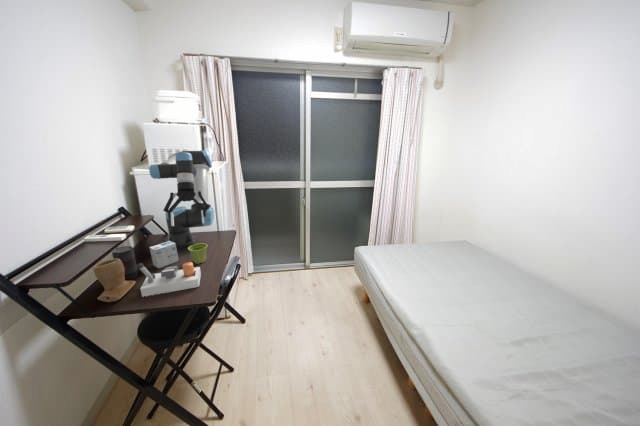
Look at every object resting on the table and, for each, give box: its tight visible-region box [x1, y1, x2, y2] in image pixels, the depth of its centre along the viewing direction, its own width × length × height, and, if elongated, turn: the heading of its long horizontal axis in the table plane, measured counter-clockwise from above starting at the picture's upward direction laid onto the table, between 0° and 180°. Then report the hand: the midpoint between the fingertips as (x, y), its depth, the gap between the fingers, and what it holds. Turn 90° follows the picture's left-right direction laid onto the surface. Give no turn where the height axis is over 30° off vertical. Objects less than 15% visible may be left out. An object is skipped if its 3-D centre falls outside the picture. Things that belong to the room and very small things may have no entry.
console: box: [139, 266, 202, 298], centre depth 117 cm, size 12×22×6 cm, turn 110°
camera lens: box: [111, 245, 139, 281], centre depth 122 cm, size 8×8×15 cm
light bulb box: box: [149, 240, 179, 270], centre depth 136 cm, size 11×7×11 cm, turn 145°
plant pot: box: [187, 242, 208, 265], centre depth 138 cm, size 9×9×9 cm
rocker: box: [160, 265, 179, 277], centre depth 115 cm, size 9×5×2 cm, turn 20°
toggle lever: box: [137, 262, 154, 278], centre depth 112 cm, size 3×2×9 cm
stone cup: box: [93, 258, 136, 303], centre depth 109 cm, size 15×12×15 cm
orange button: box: [182, 261, 195, 278], centre depth 118 cm, size 4×4×6 cm
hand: (188, 224), depth 127 cm, fingers open, 13 cm apart
